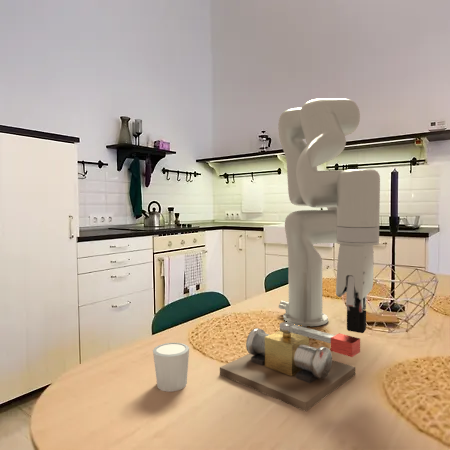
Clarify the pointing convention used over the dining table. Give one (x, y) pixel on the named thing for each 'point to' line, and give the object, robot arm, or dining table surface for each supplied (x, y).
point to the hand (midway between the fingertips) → (356, 330)
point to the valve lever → (326, 338)
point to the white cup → (171, 366)
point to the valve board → (286, 381)
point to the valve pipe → (289, 354)
